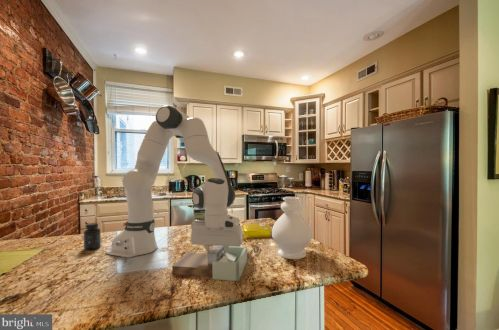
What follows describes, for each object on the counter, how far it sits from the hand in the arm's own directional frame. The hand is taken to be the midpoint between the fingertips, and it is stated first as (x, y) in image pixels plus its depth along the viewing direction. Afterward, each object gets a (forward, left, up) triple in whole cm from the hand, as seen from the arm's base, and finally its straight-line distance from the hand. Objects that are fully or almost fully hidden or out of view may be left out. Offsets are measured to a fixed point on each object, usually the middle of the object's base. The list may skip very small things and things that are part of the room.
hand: (216, 256), depth 88 cm
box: (+6, 0, -5) cm, 8 cm away
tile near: (+3, -4, -2) cm, 6 cm away
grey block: (0, 0, -2) cm, 2 cm away
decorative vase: (+29, +19, -5) cm, 35 cm away
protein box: (-20, +43, -5) cm, 48 cm away
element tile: (+9, +46, -6) cm, 47 cm away
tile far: (+4, +4, -4) cm, 6 cm away
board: (-7, 0, -5) cm, 9 cm away
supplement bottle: (-68, +13, -5) cm, 70 cm away
